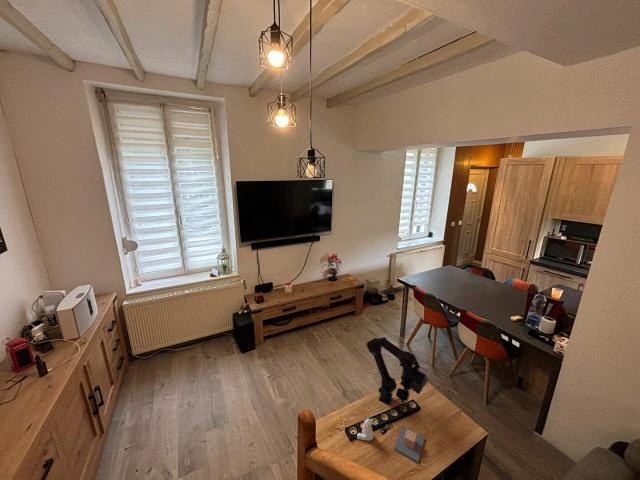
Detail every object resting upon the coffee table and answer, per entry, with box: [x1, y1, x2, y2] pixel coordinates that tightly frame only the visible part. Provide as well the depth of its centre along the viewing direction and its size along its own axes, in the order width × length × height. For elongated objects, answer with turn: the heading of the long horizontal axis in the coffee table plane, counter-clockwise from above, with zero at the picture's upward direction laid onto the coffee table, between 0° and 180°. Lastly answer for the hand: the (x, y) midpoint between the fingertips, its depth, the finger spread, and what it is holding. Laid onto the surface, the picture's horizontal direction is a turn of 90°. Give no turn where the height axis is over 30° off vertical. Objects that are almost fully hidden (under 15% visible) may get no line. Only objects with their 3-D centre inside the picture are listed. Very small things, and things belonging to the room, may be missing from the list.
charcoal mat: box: [393, 425, 425, 464], centre depth 138 cm, size 12×14×1 cm
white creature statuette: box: [356, 418, 375, 442], centre depth 141 cm, size 10×9×12 cm
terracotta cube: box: [404, 428, 418, 449], centre depth 137 cm, size 5×5×5 cm
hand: (404, 397), depth 152 cm, fingers open, 9 cm apart
